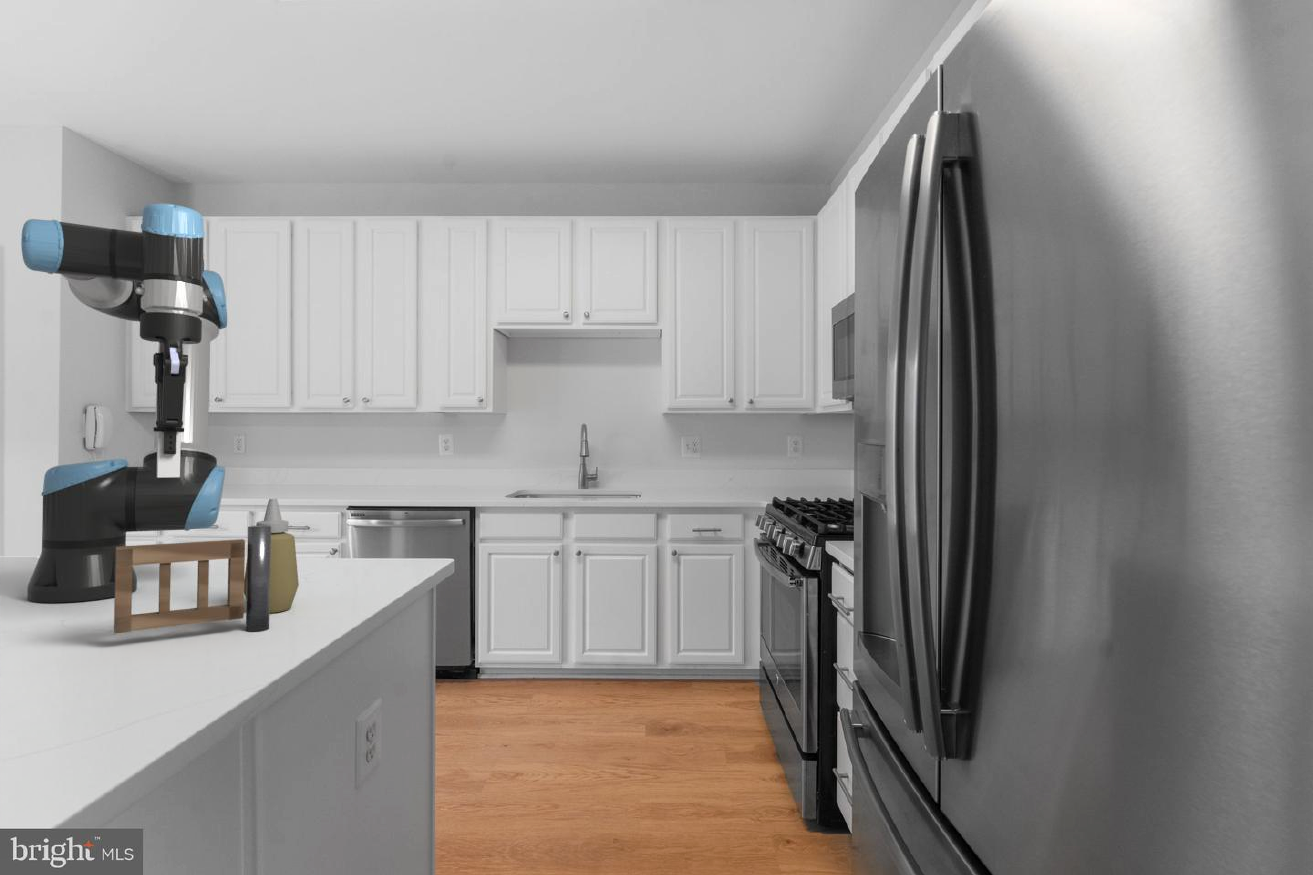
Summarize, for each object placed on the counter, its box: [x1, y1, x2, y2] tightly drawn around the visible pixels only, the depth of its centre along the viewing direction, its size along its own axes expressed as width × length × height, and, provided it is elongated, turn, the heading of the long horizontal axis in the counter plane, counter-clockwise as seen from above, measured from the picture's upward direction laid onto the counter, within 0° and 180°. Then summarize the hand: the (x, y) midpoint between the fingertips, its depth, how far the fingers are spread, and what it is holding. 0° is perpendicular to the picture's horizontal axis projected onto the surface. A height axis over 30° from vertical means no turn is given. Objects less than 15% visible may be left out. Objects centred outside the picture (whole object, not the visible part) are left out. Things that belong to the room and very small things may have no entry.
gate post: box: [245, 525, 271, 633], centre depth 109 cm, size 3×3×15 cm
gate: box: [113, 538, 246, 635], centre depth 103 cm, size 2×15×11 cm, turn 128°
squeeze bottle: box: [244, 498, 300, 614], centre depth 121 cm, size 8×8×18 cm
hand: (168, 476), depth 108 cm, fingers closed
